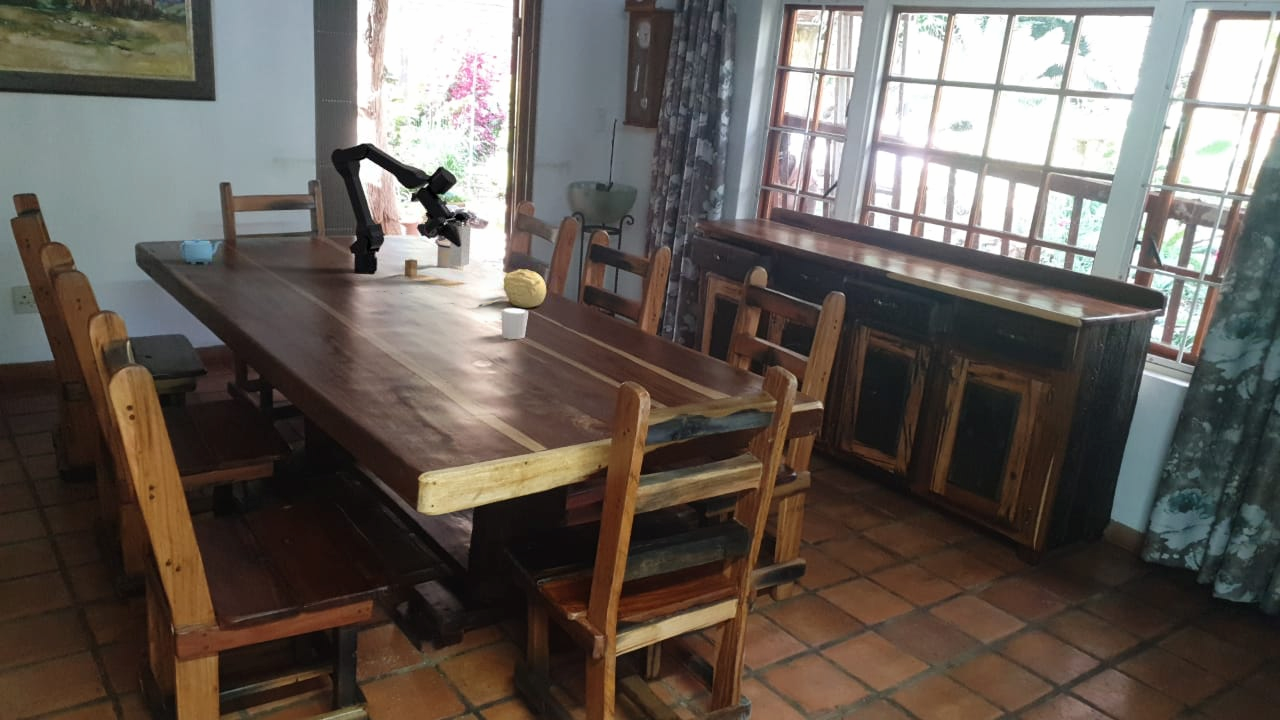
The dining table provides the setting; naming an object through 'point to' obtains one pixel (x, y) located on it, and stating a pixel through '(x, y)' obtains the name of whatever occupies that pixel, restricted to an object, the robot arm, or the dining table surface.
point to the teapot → (198, 251)
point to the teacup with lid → (445, 255)
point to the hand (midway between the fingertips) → (464, 245)
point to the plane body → (412, 275)
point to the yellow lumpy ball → (524, 288)
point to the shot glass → (514, 322)
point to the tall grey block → (460, 254)
